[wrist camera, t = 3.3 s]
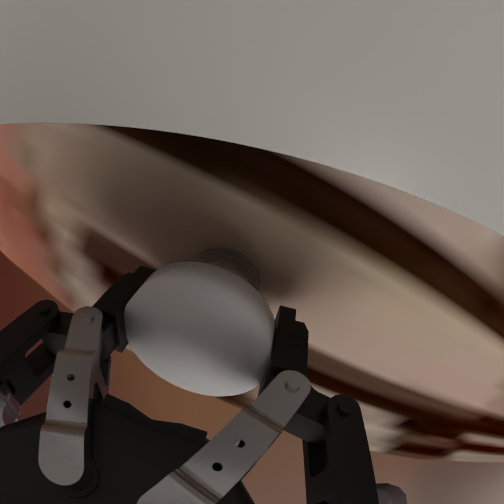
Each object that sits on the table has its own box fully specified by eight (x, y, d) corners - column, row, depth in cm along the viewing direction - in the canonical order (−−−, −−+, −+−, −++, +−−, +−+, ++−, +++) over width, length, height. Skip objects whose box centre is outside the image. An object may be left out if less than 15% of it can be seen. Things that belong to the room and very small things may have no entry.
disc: (293, 286, 10) (291, 315, 9) (258, 382, 13) (252, 409, 12) (139, 243, 10) (117, 264, 9) (143, 346, 13) (130, 368, 12)
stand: (266, 259, 14) (254, 303, 11) (251, 314, 16) (238, 361, 12) (195, 240, 14) (165, 277, 11) (189, 296, 16) (164, 339, 13)
